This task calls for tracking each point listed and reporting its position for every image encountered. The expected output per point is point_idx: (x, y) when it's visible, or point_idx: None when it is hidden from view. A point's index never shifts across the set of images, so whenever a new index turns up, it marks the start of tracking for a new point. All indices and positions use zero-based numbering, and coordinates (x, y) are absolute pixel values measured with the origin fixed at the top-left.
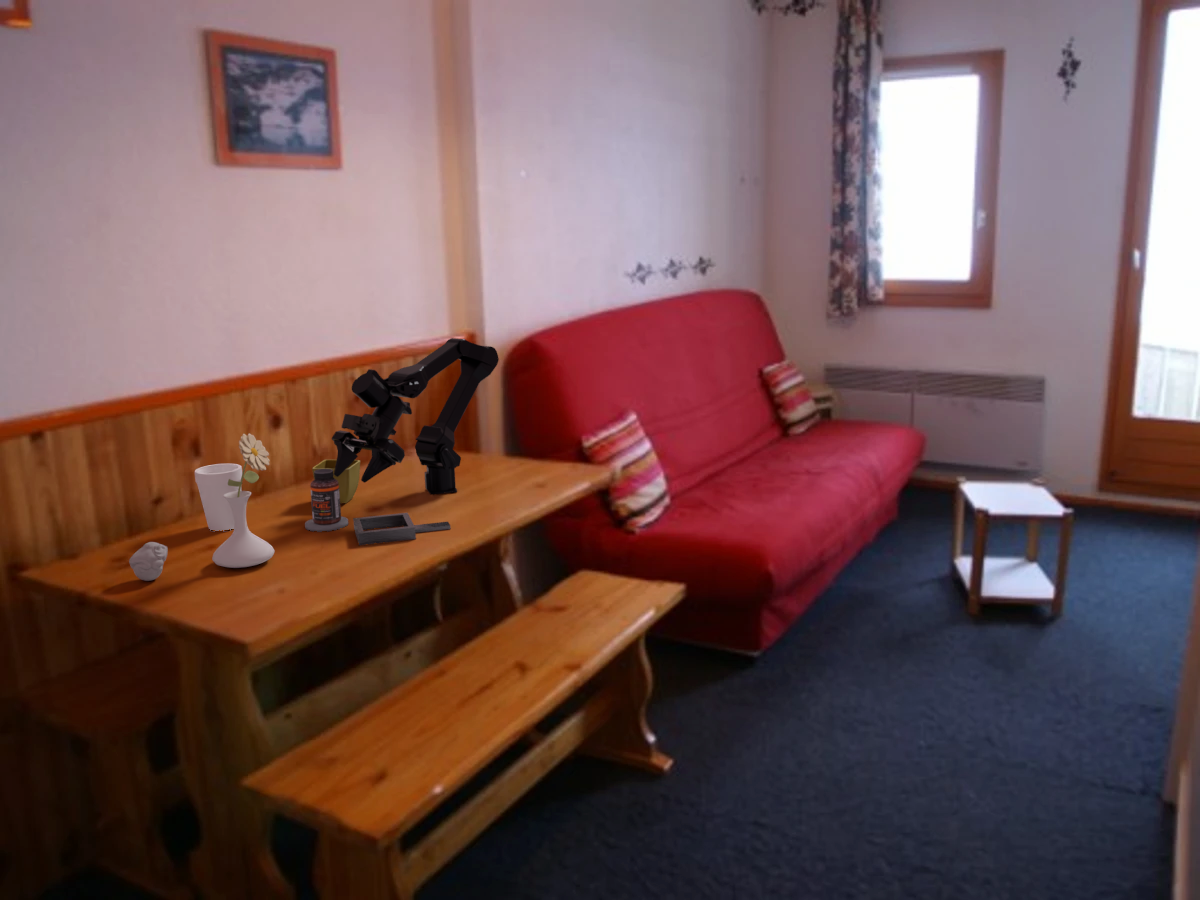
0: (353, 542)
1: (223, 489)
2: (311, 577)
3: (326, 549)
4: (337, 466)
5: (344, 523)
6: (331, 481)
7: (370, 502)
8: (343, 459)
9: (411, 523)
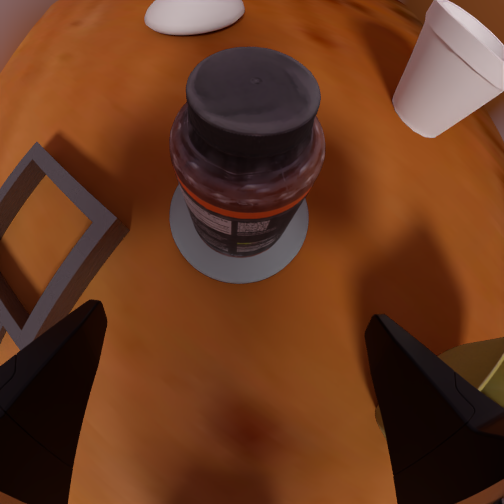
0: (70, 161)
1: (423, 28)
2: (60, 50)
3: (100, 105)
4: (403, 345)
5: (171, 228)
6: (186, 125)
7: (321, 463)
8: (425, 416)
9: None
